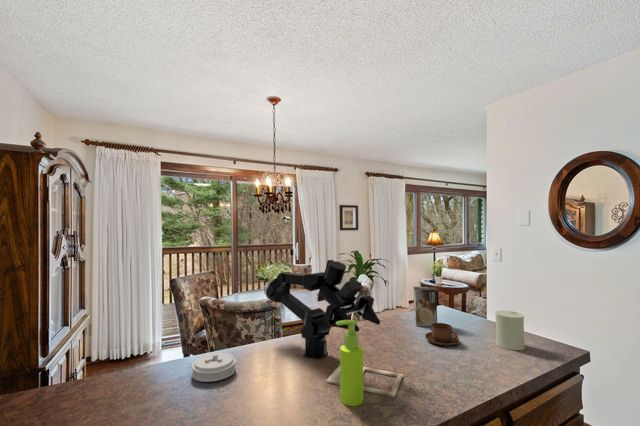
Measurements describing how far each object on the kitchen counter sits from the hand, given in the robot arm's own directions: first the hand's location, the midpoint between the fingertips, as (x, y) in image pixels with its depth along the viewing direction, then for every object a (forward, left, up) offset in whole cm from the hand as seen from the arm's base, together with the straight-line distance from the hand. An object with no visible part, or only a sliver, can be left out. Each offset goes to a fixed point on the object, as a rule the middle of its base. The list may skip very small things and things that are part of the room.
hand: (369, 326), depth 92 cm
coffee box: (+9, +59, -15) cm, 62 cm away
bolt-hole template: (-1, 0, -15) cm, 15 cm away
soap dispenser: (-2, -12, -15) cm, 20 cm away
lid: (-44, -15, -16) cm, 49 cm away
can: (+40, +46, -15) cm, 63 cm away
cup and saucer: (+17, +40, -16) cm, 46 cm away
